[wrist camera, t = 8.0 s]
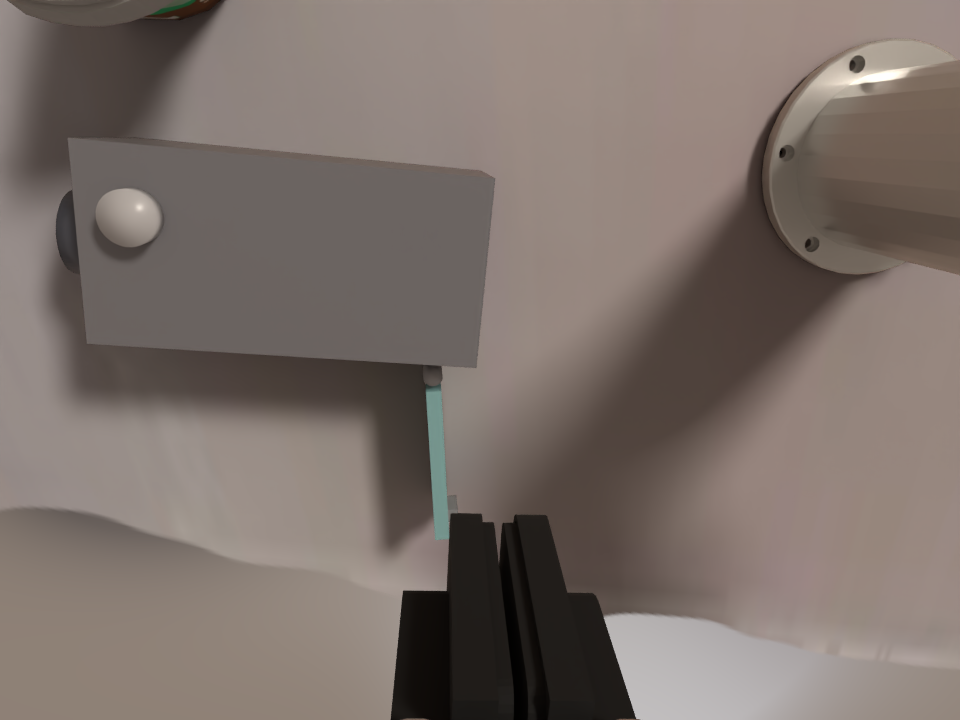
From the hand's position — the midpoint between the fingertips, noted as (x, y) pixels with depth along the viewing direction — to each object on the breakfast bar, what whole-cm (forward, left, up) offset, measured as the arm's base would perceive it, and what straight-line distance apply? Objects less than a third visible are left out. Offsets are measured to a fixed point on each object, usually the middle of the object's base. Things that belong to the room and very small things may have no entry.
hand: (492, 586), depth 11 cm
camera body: (+7, -1, -28) cm, 29 cm away
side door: (-1, +9, -28) cm, 29 cm away
